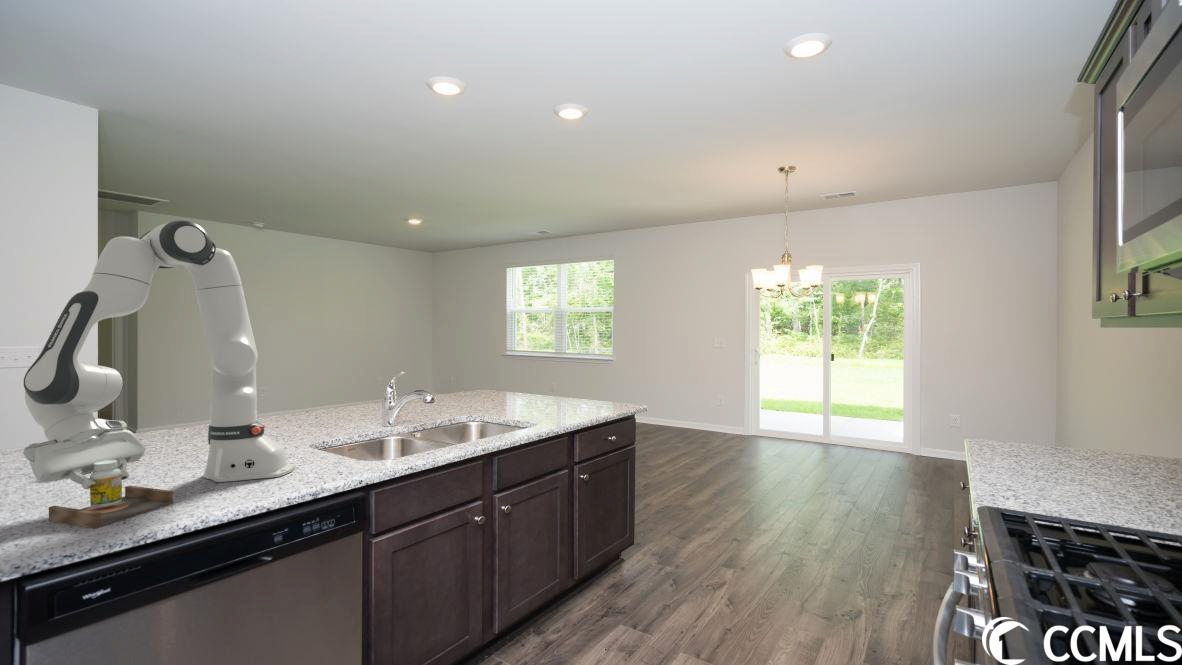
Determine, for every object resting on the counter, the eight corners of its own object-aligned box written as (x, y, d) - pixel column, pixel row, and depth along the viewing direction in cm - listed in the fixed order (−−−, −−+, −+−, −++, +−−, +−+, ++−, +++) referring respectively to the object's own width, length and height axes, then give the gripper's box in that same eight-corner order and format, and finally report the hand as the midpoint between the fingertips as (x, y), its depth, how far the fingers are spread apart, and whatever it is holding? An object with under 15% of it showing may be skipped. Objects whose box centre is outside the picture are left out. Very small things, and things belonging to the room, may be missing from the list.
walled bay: (48, 520, 116) (48, 507, 116) (129, 497, 131) (129, 485, 131) (95, 528, 112) (95, 514, 112) (173, 503, 128) (173, 491, 128)
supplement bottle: (128, 500, 125) (127, 459, 125) (106, 508, 120) (106, 465, 119) (105, 499, 125) (105, 458, 125) (83, 507, 120) (82, 464, 120)
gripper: (26, 436, 114) (59, 487, 112) (131, 420, 134) (161, 462, 131) (12, 456, 115) (44, 506, 113) (118, 436, 135) (147, 478, 133)
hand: (108, 482), depth 122 cm, fingers closed on supplement bottle, 5 cm apart
